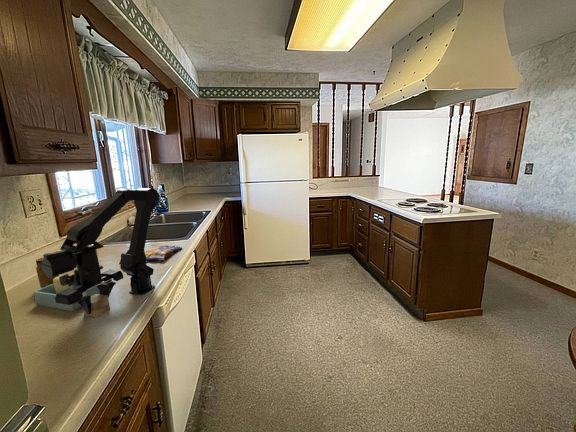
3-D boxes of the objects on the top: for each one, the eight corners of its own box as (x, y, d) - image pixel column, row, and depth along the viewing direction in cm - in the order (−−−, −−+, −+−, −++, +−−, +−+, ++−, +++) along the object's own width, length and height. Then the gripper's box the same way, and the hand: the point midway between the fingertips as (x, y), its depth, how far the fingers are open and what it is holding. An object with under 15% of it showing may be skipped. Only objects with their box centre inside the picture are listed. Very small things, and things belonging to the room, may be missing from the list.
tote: (74, 287, 107) (72, 275, 106) (108, 292, 102) (106, 280, 101) (36, 304, 95) (33, 291, 93) (73, 311, 90) (70, 297, 89)
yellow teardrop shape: (77, 292, 101) (74, 275, 100) (63, 299, 96) (60, 281, 95) (67, 291, 102) (63, 274, 101) (53, 298, 98) (49, 279, 96)
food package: (125, 264, 131) (124, 256, 130) (156, 247, 155) (155, 240, 154) (167, 265, 128) (166, 257, 127) (192, 248, 152) (191, 240, 152)
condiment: (48, 283, 111) (42, 255, 109) (70, 282, 112) (64, 254, 109) (34, 292, 104) (27, 262, 101) (57, 290, 105) (51, 261, 102)
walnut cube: (98, 307, 92) (95, 293, 91) (110, 309, 91) (107, 295, 90) (84, 315, 87) (81, 301, 86) (96, 317, 86) (93, 303, 85)
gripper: (96, 252, 96) (103, 292, 100) (36, 274, 79) (47, 322, 82) (120, 255, 93) (127, 296, 97) (64, 278, 76) (75, 327, 79)
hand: (96, 309), depth 89 cm, fingers closed on walnut cube, 5 cm apart
